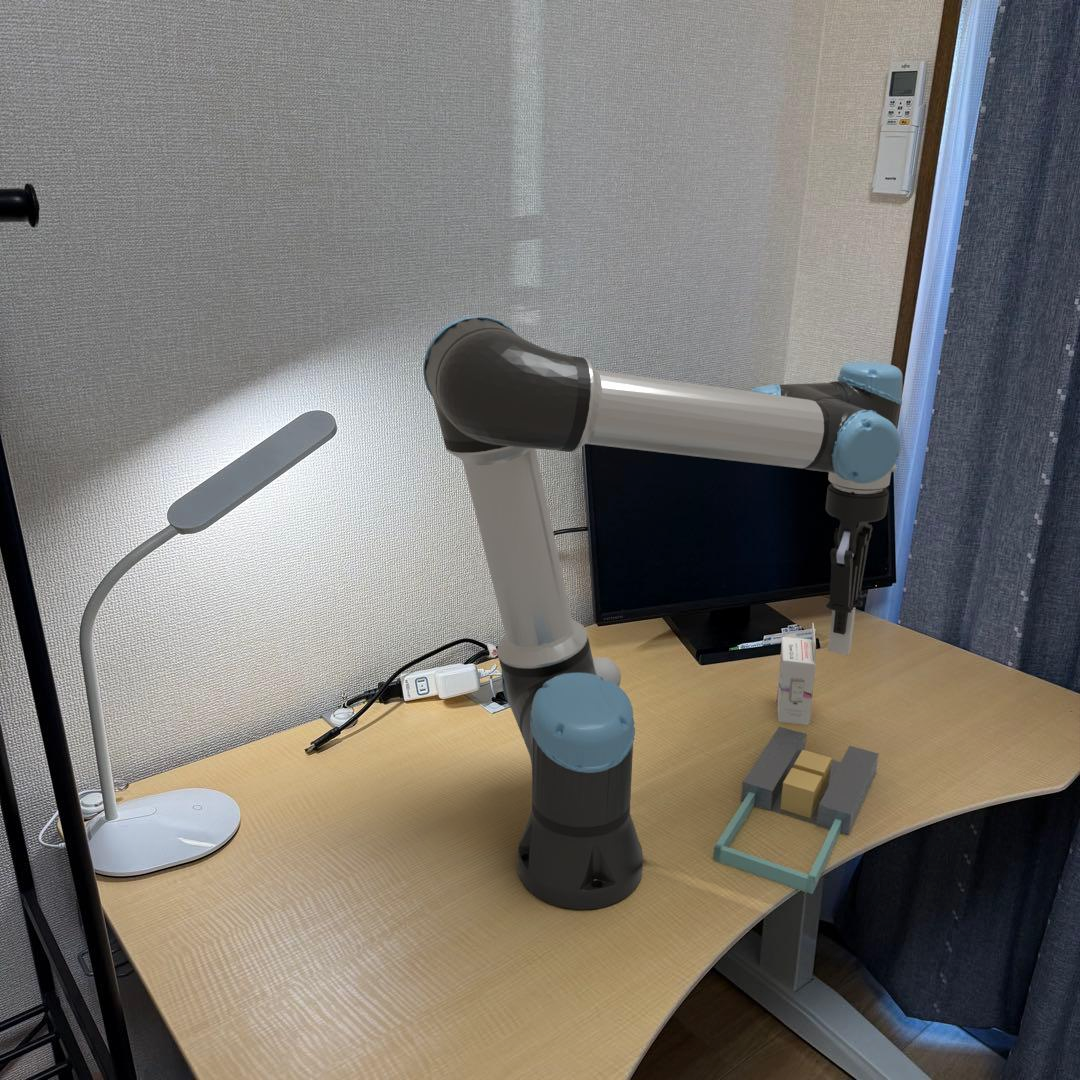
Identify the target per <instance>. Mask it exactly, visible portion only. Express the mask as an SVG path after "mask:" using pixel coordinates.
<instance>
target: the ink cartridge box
mask: <svg viewBox="0 0 1080 1080" xmlns="http://www.w3.org/2000/svg"><path fill="white" fill-rule="evenodd" d="M811 624H812V625H811V626H812V629H811V632H812V634H811V635H812V637H811V638H812V639H811V638H803V637H802V638H799V637H789V636H782V637H781V646H780V656H779V657H780V658H779V659H780V660H779V669H778V670H779V671H778V672H779V673H778V681H777V689H776V690H777V691H776V703H777V719H778V721H777V722H778V723H783V724H787V723H788V724H796V725H807V726H810V725H811V724H810V723H811V718H812V717H811V716H812V705H813V698H814V697H813V696H814V695H813V694H814V685H815V676H816V668H817V667H816V666H817V659H816V658H817V657H816V656H817V644H816V643H817V641H816V632H815V625H814V622H812V623H811Z"/></svg>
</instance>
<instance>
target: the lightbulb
mask: <svg viewBox="0 0 1080 1080" xmlns="http://www.w3.org/2000/svg"><path fill="white" fill-rule="evenodd" d="M592 658H593V663H594V667H595V671H596V674H597V675H598V676H600V677H602V678H603V681H609V680H610V681H612V682H613V683H615V684H616V685H618V686H619V687H620V685H621V681H622V674H621V671H620V668H619V666H618V665H617V664H616V663H615V661H613V660H612V659H610V658H608V657H604V656H601V657H600V656H598V657H592Z"/></svg>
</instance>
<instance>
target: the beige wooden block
mask: <svg viewBox="0 0 1080 1080" xmlns="http://www.w3.org/2000/svg"><path fill="white" fill-rule="evenodd" d="M832 760H833V758H832V757H829V756H826V755H823V754H819V753H815V752H812V751H808V750H806V749H805V750H802V751H801V753H800V755H799V757H798V758H797V760H796V762H795V763H794V768H795V769H798V770H802V771H805V772H809V773H812V774H816V775H819V776H822V782H821V790H820V798H821V797H822V796H823V794H824V792H825V790H826V788H827V786H828V784H829V778H830V770H831V762H832Z"/></svg>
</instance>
